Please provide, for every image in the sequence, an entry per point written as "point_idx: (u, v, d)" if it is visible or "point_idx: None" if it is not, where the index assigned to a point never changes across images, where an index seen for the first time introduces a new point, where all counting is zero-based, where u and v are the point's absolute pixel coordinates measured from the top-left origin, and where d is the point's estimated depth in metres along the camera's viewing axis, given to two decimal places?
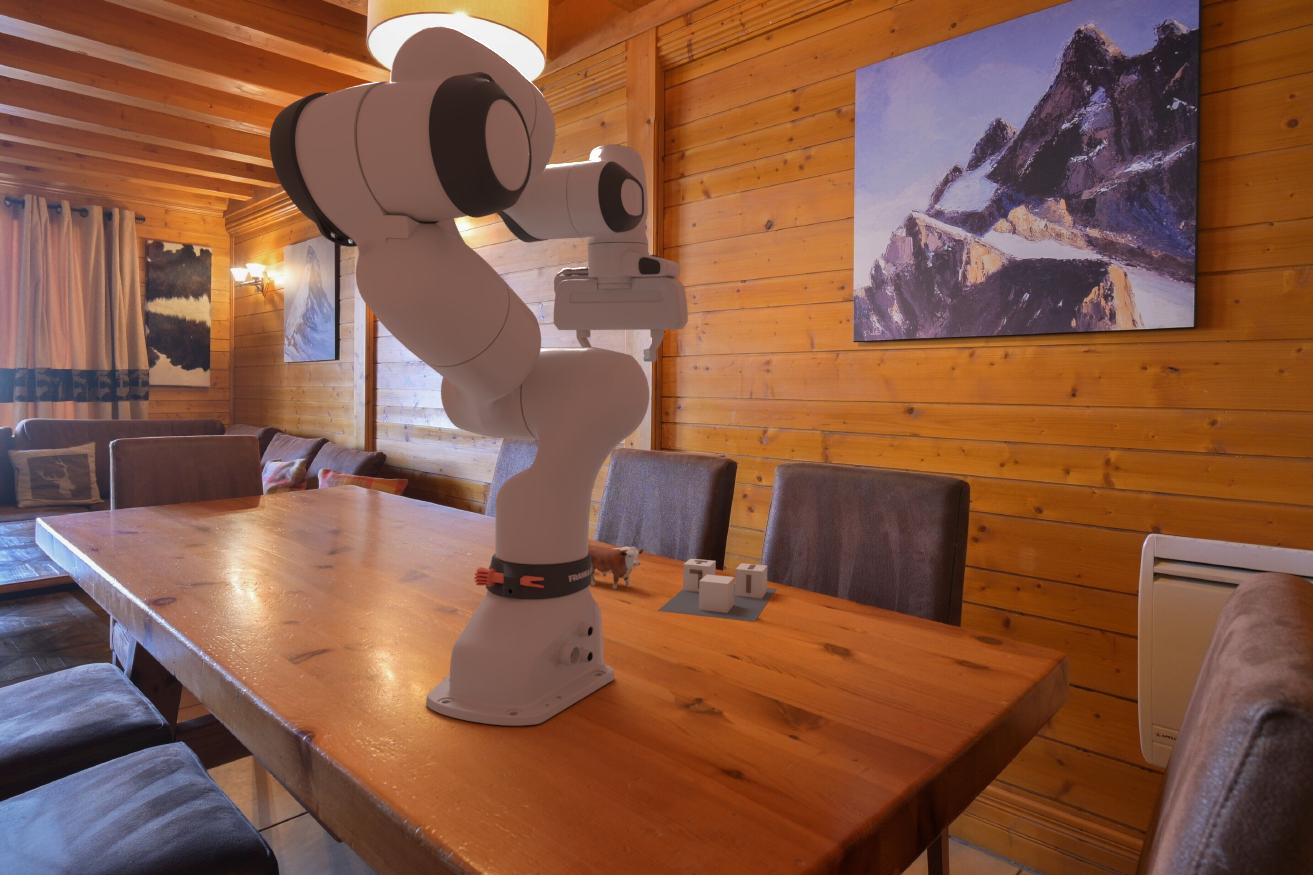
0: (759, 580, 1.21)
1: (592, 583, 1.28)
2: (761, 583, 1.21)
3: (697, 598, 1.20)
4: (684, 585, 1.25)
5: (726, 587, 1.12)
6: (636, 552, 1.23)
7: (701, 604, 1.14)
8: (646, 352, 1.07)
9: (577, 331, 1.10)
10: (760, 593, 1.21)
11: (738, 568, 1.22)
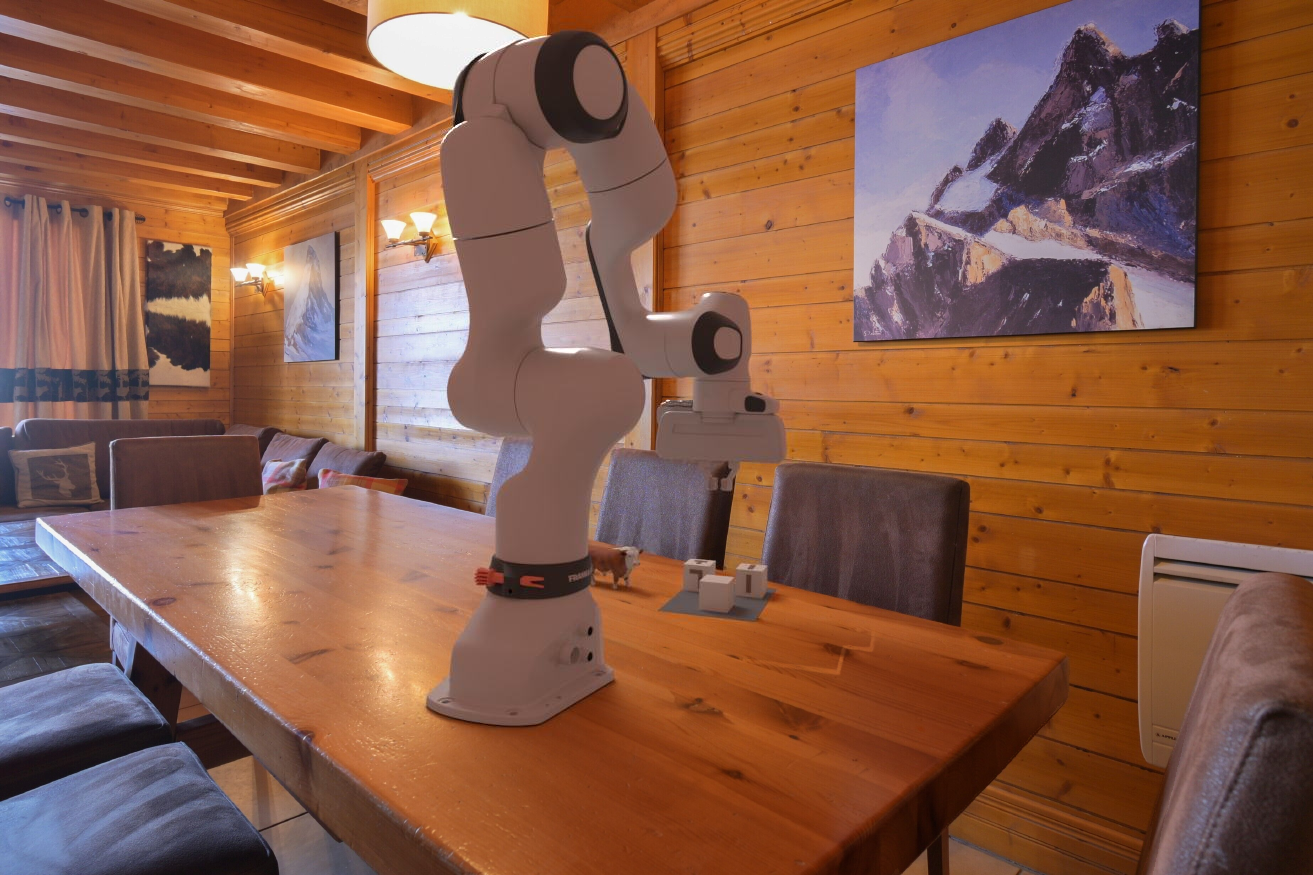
0: (759, 580, 1.21)
1: (592, 583, 1.28)
2: (761, 583, 1.21)
3: (697, 598, 1.20)
4: (684, 585, 1.25)
5: (726, 587, 1.12)
6: (636, 552, 1.23)
7: (701, 604, 1.14)
8: (723, 482, 1.13)
9: None
10: (760, 593, 1.21)
11: (738, 568, 1.22)
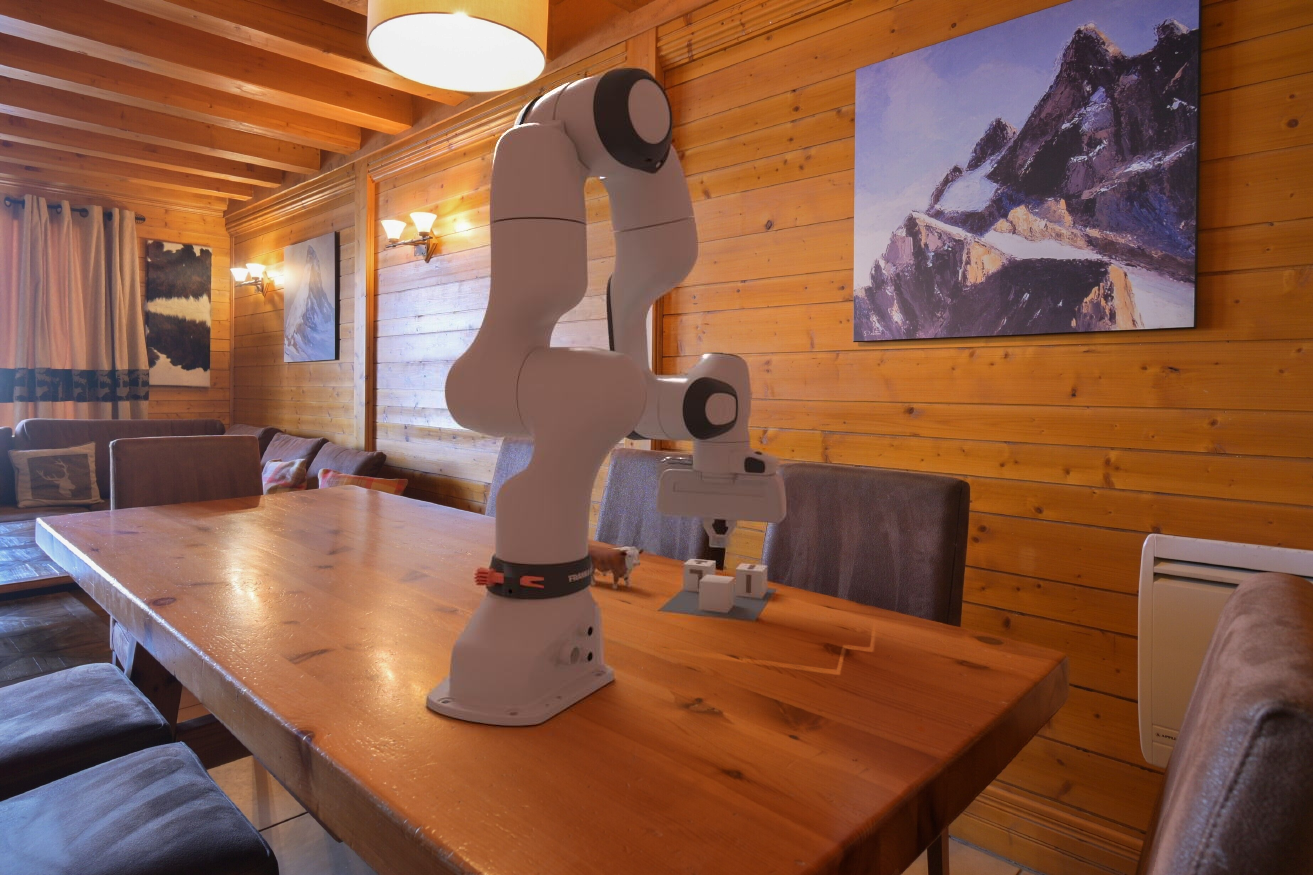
0: (759, 580, 1.21)
1: (592, 583, 1.28)
2: (761, 583, 1.21)
3: (697, 598, 1.20)
4: (684, 585, 1.25)
5: (726, 587, 1.12)
6: (636, 552, 1.23)
7: (701, 604, 1.14)
8: (721, 539, 1.14)
9: None
10: (760, 593, 1.21)
11: (738, 568, 1.22)
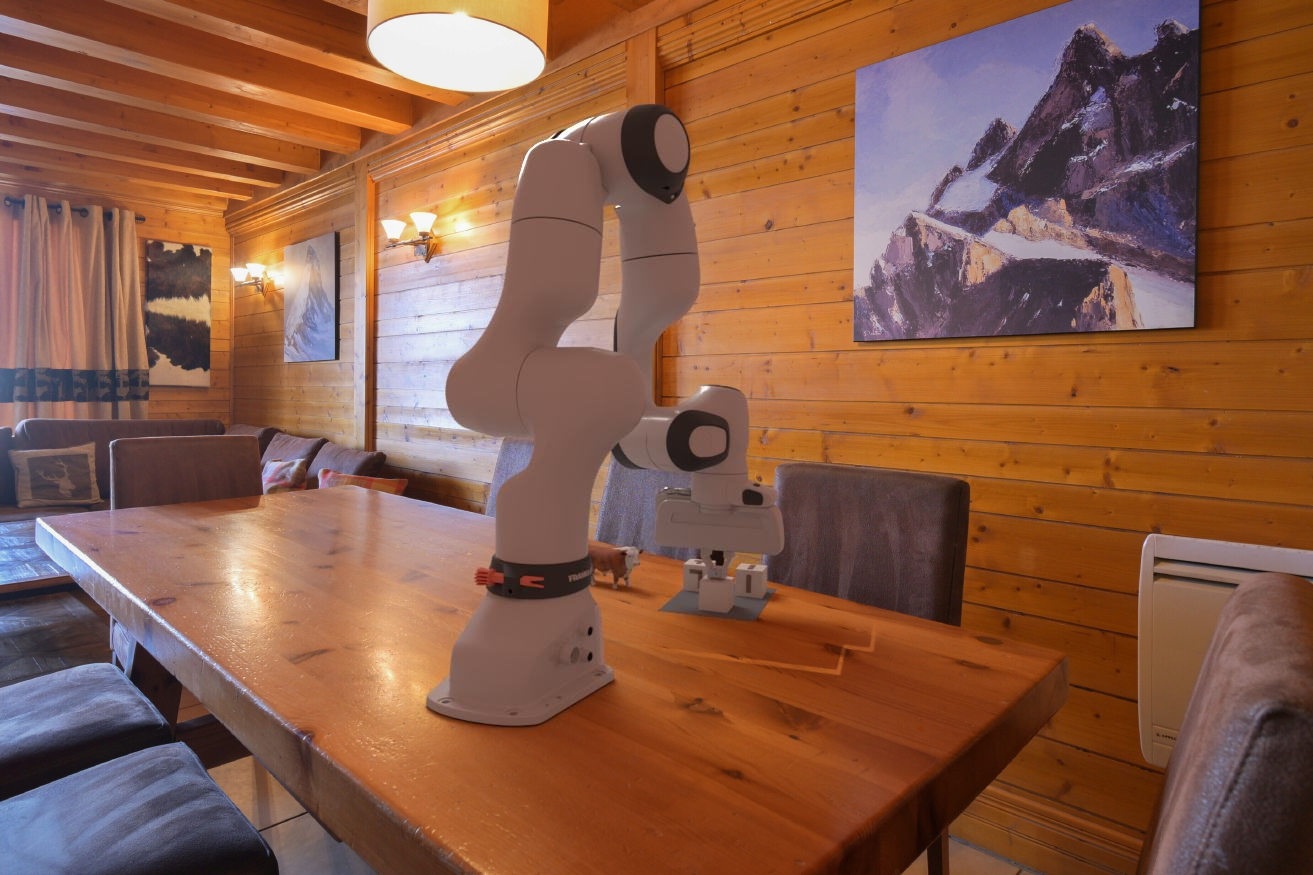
0: (759, 580, 1.21)
1: (592, 583, 1.28)
2: (761, 583, 1.21)
3: (697, 598, 1.20)
4: (684, 585, 1.25)
5: (726, 587, 1.12)
6: (636, 552, 1.23)
7: (701, 604, 1.14)
8: (718, 571, 1.14)
9: None
10: (760, 593, 1.21)
11: (738, 568, 1.22)
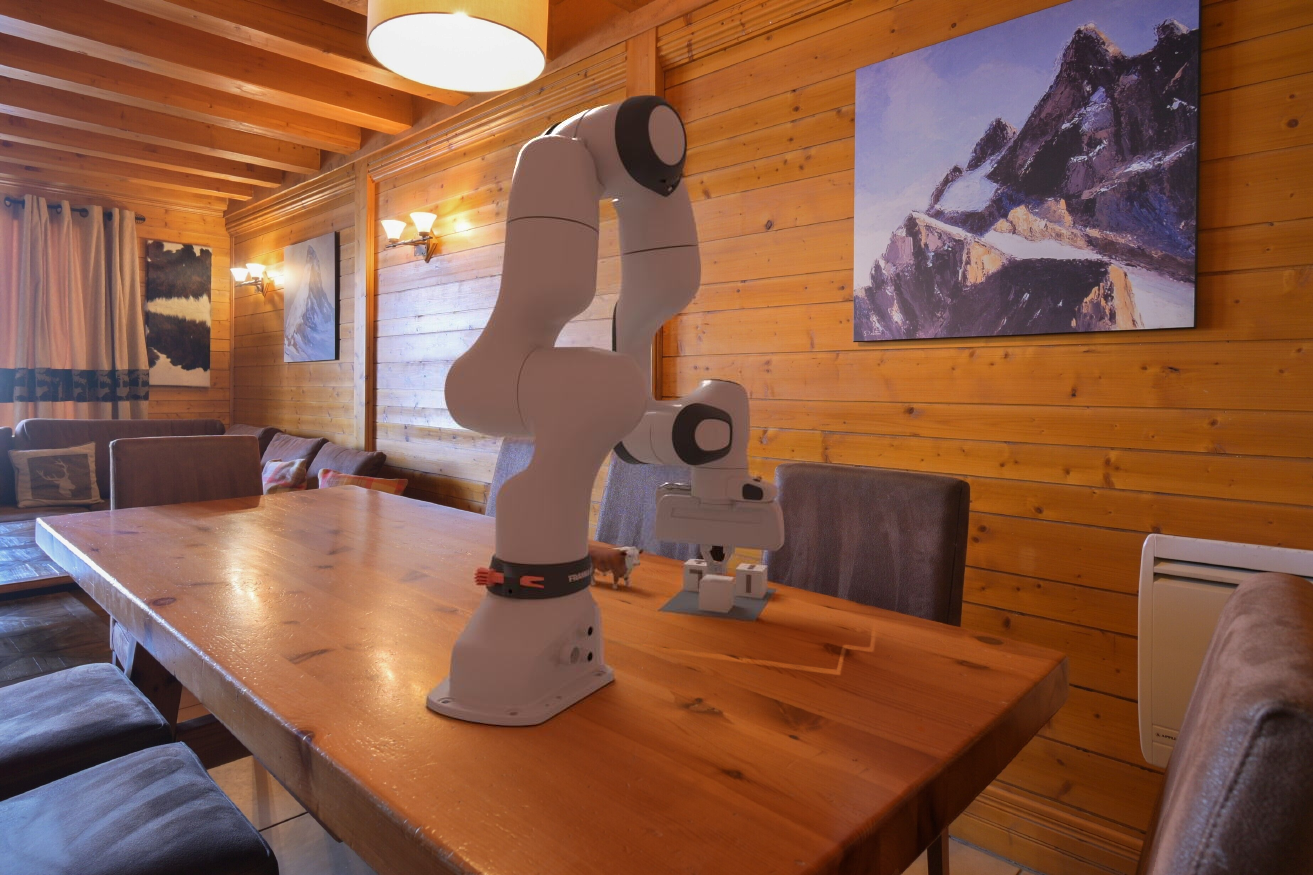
0: (759, 580, 1.21)
1: (592, 583, 1.28)
2: (761, 583, 1.21)
3: (697, 598, 1.20)
4: (684, 585, 1.25)
5: (726, 587, 1.12)
6: (636, 552, 1.23)
7: (701, 604, 1.14)
8: (718, 566, 1.13)
9: None
10: (760, 593, 1.21)
11: (738, 568, 1.22)
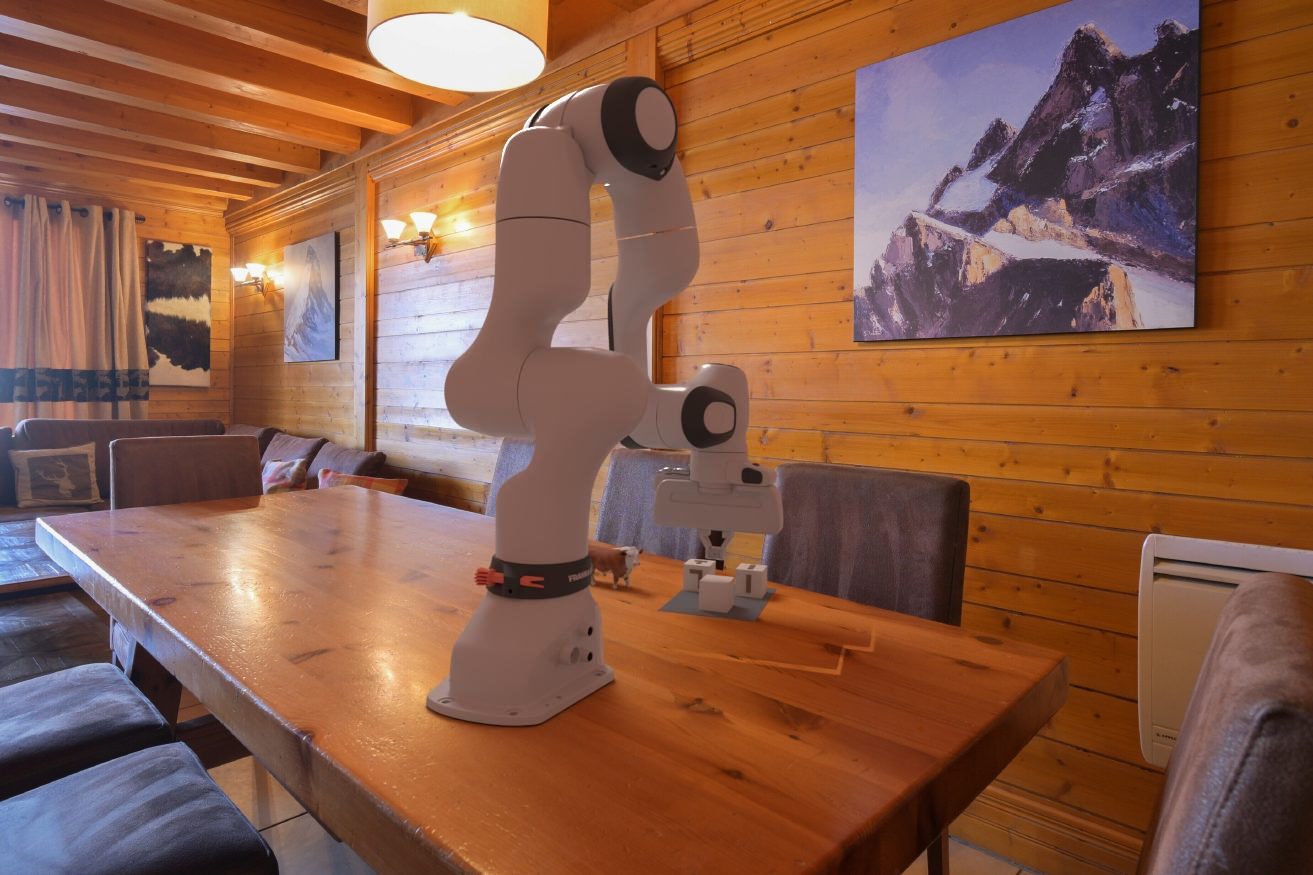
0: (759, 580, 1.21)
1: (592, 583, 1.28)
2: (761, 583, 1.21)
3: (697, 598, 1.20)
4: (684, 585, 1.25)
5: (726, 587, 1.12)
6: (636, 552, 1.23)
7: (701, 604, 1.14)
8: (717, 551, 1.13)
9: None
10: (760, 593, 1.21)
11: (738, 568, 1.22)
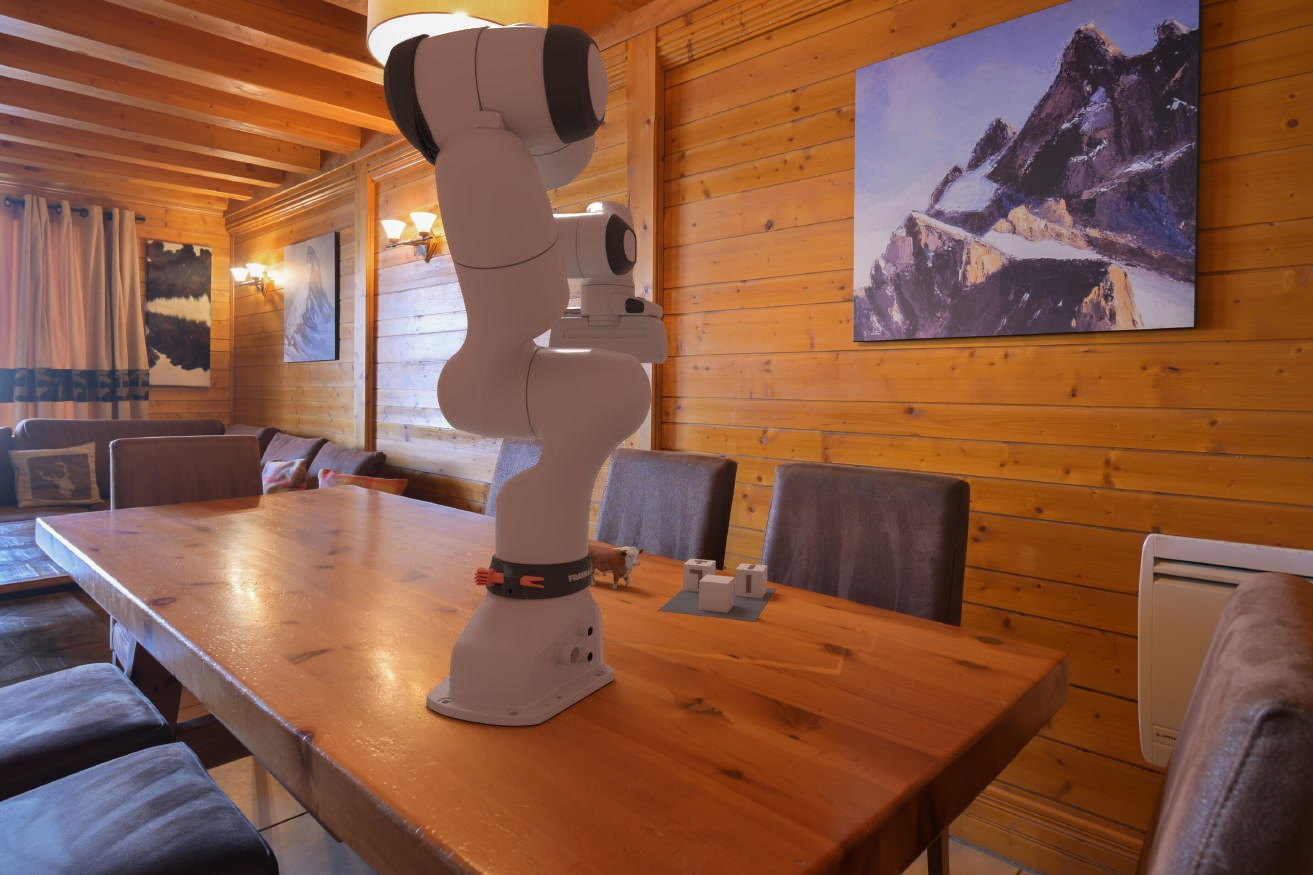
0: (759, 580, 1.21)
1: (592, 583, 1.28)
2: (761, 583, 1.21)
3: (697, 598, 1.20)
4: (684, 585, 1.25)
5: (726, 587, 1.12)
6: (636, 552, 1.23)
7: (701, 604, 1.14)
8: None
9: None
10: (760, 593, 1.21)
11: (738, 568, 1.22)
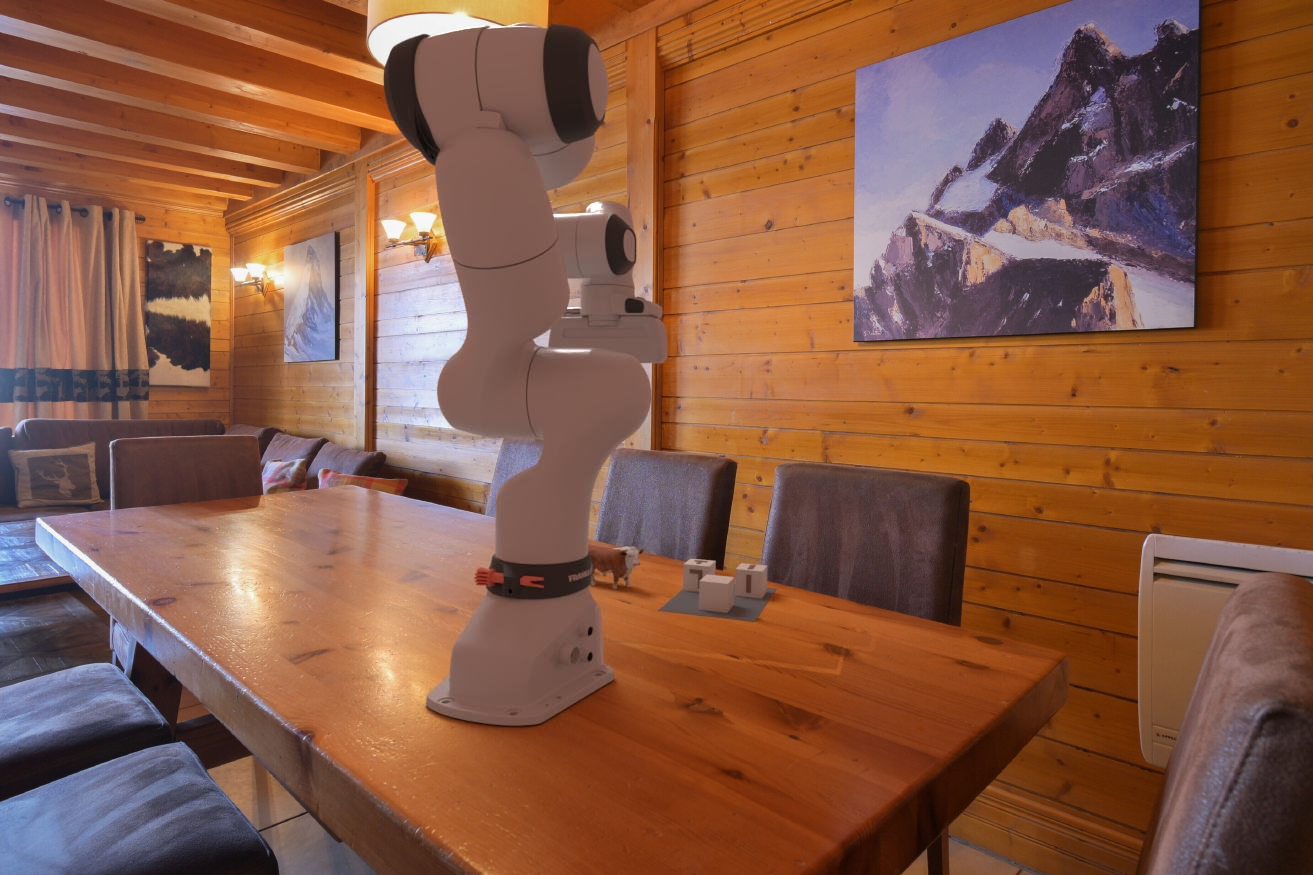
0: (759, 580, 1.21)
1: (592, 583, 1.28)
2: (761, 583, 1.21)
3: (697, 598, 1.20)
4: (684, 585, 1.25)
5: (726, 587, 1.12)
6: (636, 552, 1.23)
7: (701, 604, 1.14)
8: None
9: None
10: (760, 593, 1.21)
11: (738, 568, 1.22)
